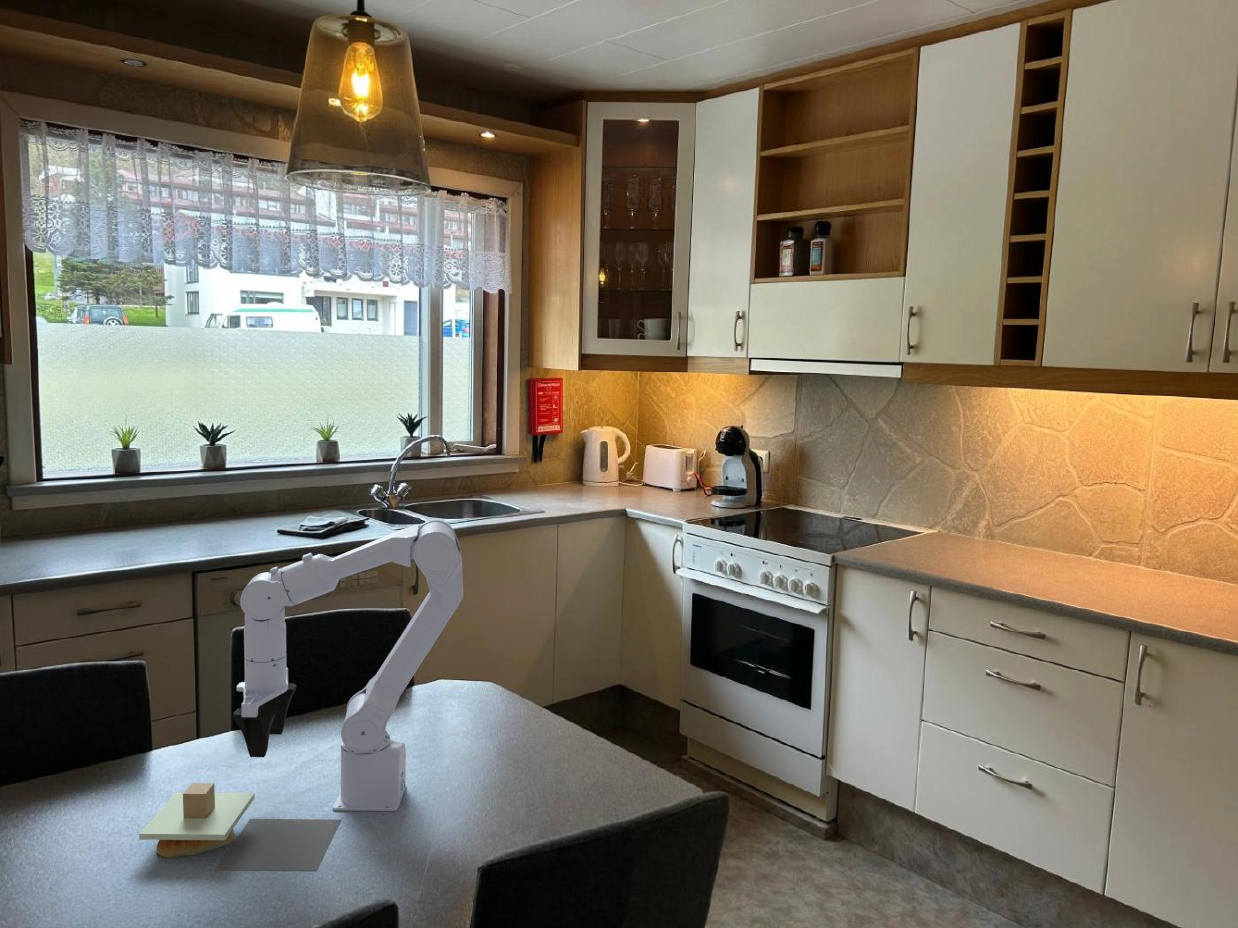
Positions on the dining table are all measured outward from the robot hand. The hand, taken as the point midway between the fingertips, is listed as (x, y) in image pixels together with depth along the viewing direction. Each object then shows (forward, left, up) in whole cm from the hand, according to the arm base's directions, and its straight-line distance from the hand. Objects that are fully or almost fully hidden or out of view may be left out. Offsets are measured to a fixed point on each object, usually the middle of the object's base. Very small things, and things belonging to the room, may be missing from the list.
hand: (266, 744), depth 135 cm
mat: (-6, +11, -9) cm, 15 cm away
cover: (+6, +10, -6) cm, 13 cm away
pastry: (+6, +11, -10) cm, 16 cm away
